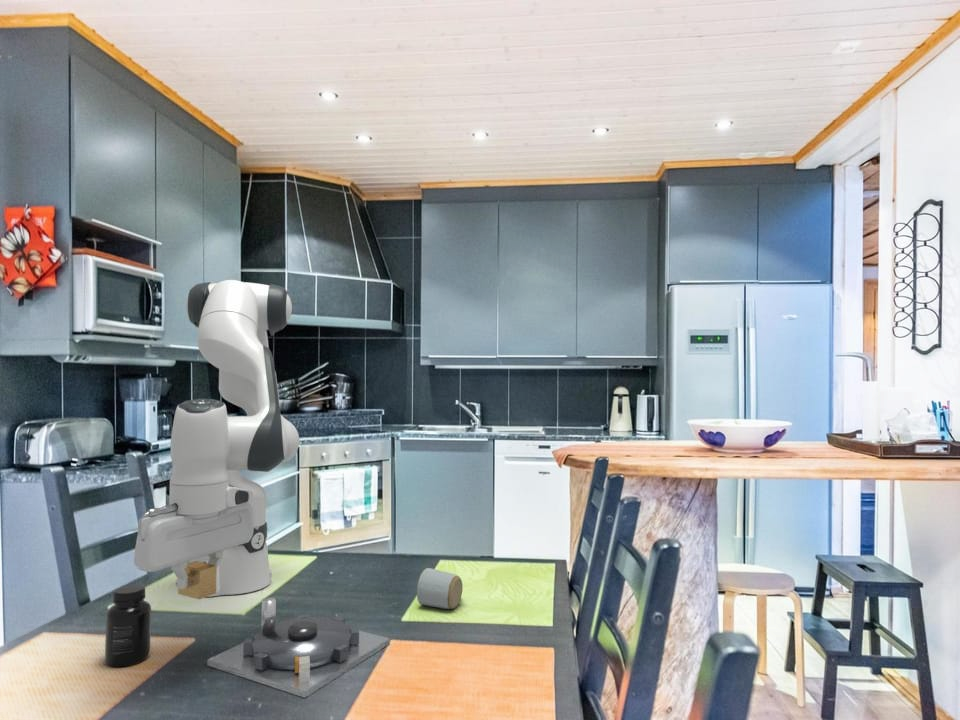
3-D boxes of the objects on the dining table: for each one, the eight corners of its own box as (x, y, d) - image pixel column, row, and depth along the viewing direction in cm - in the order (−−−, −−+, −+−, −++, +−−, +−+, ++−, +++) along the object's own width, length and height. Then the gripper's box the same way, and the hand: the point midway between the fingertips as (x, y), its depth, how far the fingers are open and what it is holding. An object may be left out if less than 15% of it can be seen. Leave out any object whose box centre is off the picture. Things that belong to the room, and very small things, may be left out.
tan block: (178, 593, 100) (178, 565, 100) (195, 587, 103) (195, 560, 103) (199, 599, 98) (199, 570, 98) (215, 593, 101) (216, 565, 101)
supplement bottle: (159, 654, 108) (161, 585, 109) (125, 671, 102) (127, 598, 102) (129, 648, 111) (131, 580, 111) (94, 664, 104) (97, 593, 104)
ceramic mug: (450, 615, 128) (451, 577, 128) (415, 609, 131) (416, 572, 131) (469, 599, 138) (470, 564, 138) (436, 594, 141) (437, 560, 141)
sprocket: (236, 679, 97) (238, 631, 97) (249, 630, 116) (250, 590, 116) (362, 665, 102) (363, 620, 102) (355, 620, 121) (355, 582, 121)
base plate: (207, 665, 104) (207, 641, 104) (300, 621, 124) (301, 601, 124) (304, 697, 94) (305, 671, 94) (389, 643, 113) (390, 622, 114)
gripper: (153, 514, 90) (150, 608, 90) (260, 490, 108) (258, 568, 108) (126, 508, 93) (123, 600, 93) (235, 486, 111) (233, 563, 111)
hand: (197, 583), depth 100 cm, fingers closed on tan block, 3 cm apart
